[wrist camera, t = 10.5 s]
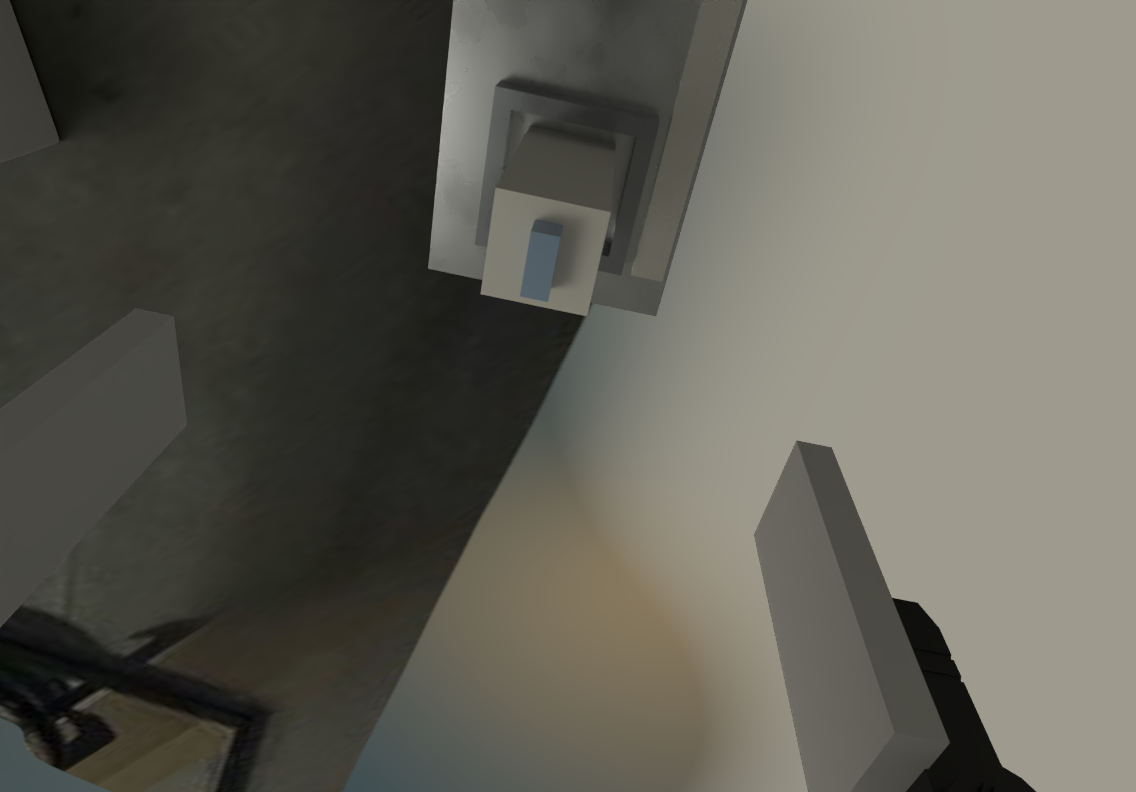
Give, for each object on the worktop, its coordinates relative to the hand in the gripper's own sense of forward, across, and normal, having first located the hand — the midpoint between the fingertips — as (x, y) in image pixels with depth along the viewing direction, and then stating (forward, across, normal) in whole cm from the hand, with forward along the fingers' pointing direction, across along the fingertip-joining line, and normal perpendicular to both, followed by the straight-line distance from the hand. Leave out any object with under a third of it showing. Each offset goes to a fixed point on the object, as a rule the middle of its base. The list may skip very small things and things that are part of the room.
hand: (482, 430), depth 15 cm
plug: (+22, 0, 0) cm, 22 cm away
